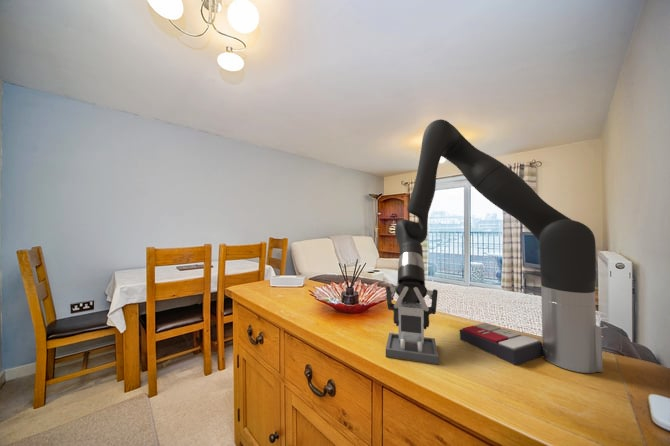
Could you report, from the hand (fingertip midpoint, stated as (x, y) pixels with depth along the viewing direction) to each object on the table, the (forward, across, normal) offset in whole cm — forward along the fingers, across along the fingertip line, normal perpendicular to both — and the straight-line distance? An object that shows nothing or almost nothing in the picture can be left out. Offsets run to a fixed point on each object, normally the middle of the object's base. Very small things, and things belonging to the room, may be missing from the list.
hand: (411, 326), depth 62 cm
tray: (+4, 0, +6) cm, 7 cm away
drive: (+2, 0, +4) cm, 5 cm away
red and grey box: (-2, +22, +13) cm, 26 cm away
